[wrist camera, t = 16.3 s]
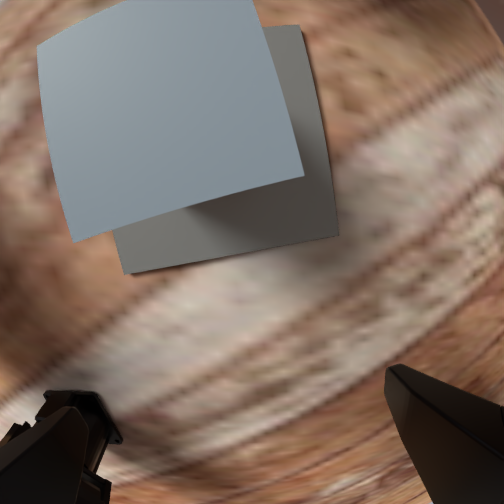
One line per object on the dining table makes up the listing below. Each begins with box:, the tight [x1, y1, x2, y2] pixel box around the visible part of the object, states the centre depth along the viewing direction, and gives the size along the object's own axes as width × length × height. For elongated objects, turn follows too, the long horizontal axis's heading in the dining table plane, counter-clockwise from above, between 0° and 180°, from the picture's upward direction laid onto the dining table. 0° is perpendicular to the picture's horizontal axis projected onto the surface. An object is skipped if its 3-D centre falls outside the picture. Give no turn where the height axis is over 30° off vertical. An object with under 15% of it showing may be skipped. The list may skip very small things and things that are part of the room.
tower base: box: [112, 25, 339, 275], centre depth 16 cm, size 14×14×5 cm
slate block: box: [37, 0, 305, 243], centre depth 8 cm, size 6×6×4 cm
